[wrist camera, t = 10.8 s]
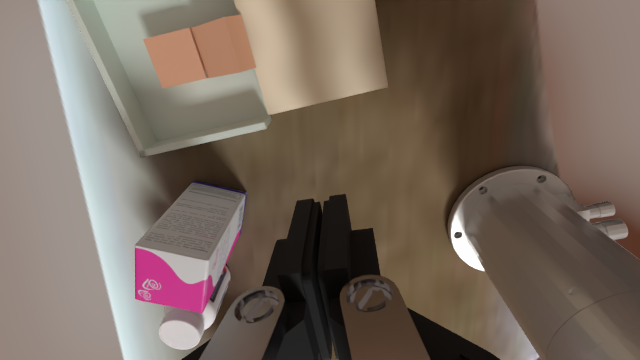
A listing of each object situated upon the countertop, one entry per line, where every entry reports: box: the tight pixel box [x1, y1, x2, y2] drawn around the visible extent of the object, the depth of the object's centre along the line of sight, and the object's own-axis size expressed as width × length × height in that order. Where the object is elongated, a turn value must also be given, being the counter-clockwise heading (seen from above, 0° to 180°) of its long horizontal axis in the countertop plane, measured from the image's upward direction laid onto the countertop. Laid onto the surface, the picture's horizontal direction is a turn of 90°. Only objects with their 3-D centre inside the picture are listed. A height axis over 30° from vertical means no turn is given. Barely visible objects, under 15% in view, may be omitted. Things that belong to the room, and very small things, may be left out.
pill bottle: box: [158, 265, 230, 350], centre depth 36 cm, size 5×5×9 cm
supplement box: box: [135, 181, 247, 313], centre depth 31 cm, size 6×6×12 cm
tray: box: [65, 0, 272, 157], centre depth 29 cm, size 12×14×3 cm
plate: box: [234, 0, 388, 115], centre depth 28 cm, size 10×12×2 cm
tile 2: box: [143, 28, 208, 88], centre depth 29 cm, size 4×4×2 cm
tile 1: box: [191, 15, 256, 78], centre depth 27 cm, size 4×4×2 cm
